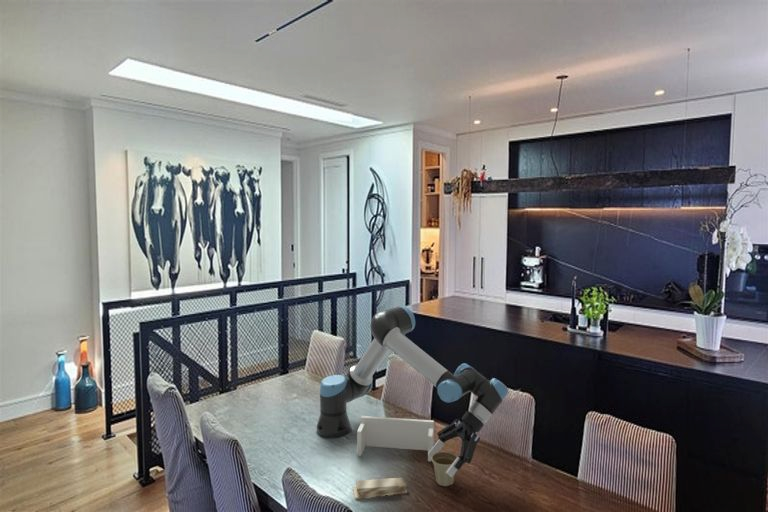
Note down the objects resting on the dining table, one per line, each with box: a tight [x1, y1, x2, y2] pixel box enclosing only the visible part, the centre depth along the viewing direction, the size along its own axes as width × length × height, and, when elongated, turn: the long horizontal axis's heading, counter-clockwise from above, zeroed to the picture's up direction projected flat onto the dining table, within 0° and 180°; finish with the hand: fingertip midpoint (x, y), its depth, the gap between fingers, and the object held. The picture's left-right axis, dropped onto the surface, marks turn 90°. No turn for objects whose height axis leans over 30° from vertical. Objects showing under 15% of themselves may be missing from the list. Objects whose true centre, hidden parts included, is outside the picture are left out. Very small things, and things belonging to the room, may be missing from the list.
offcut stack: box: [352, 476, 408, 500], centre depth 154 cm, size 18×7×4 cm, turn 102°
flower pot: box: [431, 451, 458, 487], centre depth 159 cm, size 9×9×9 cm
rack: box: [356, 415, 435, 462], centre depth 180 cm, size 30×10×12 cm, turn 81°
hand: (439, 465), depth 158 cm, fingers open, 13 cm apart
